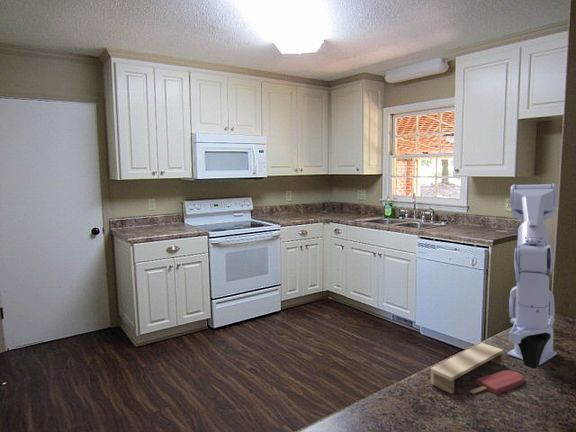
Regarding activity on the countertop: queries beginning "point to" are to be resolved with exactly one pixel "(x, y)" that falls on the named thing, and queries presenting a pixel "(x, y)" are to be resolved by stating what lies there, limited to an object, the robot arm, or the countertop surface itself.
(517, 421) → the countertop surface
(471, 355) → the rail
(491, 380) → the popsicle
